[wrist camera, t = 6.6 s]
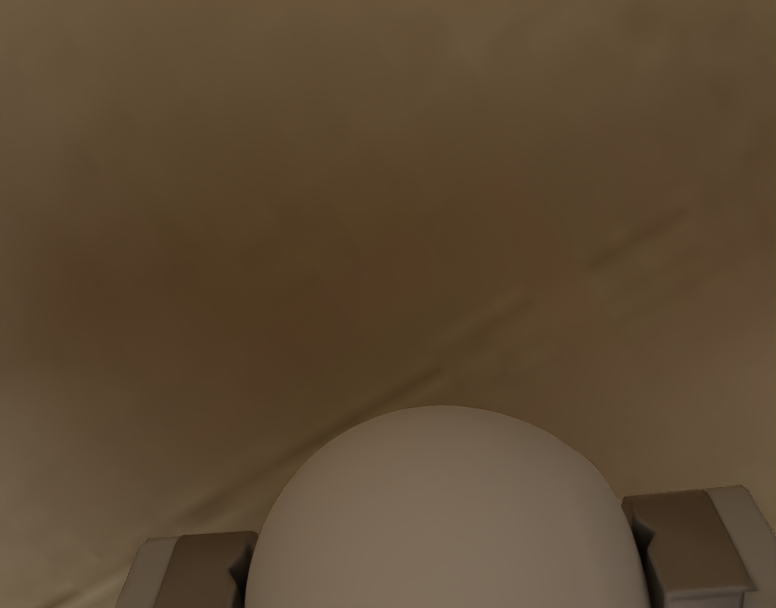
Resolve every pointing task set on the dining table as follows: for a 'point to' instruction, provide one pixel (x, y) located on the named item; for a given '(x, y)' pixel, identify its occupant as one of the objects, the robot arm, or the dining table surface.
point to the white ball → (446, 521)
